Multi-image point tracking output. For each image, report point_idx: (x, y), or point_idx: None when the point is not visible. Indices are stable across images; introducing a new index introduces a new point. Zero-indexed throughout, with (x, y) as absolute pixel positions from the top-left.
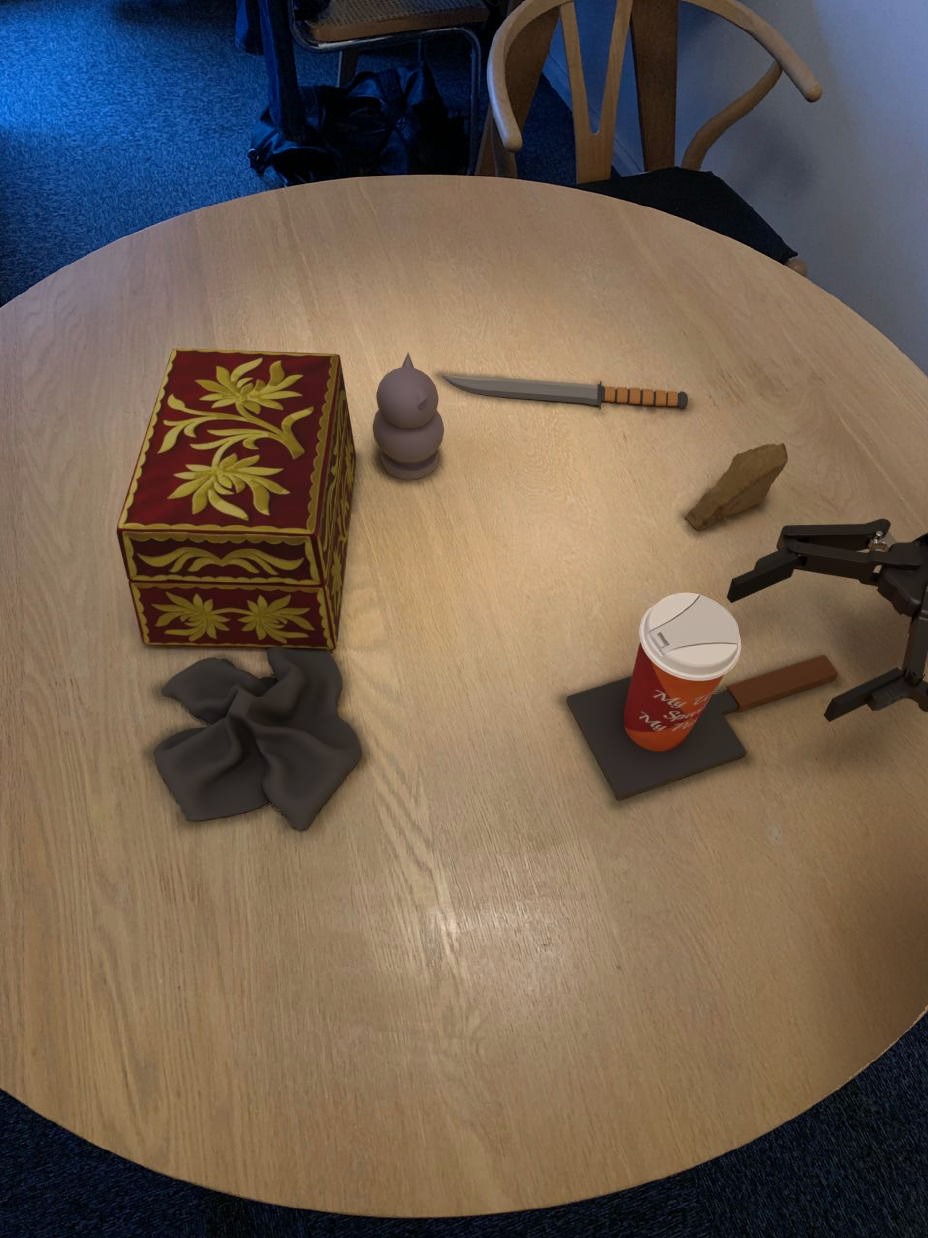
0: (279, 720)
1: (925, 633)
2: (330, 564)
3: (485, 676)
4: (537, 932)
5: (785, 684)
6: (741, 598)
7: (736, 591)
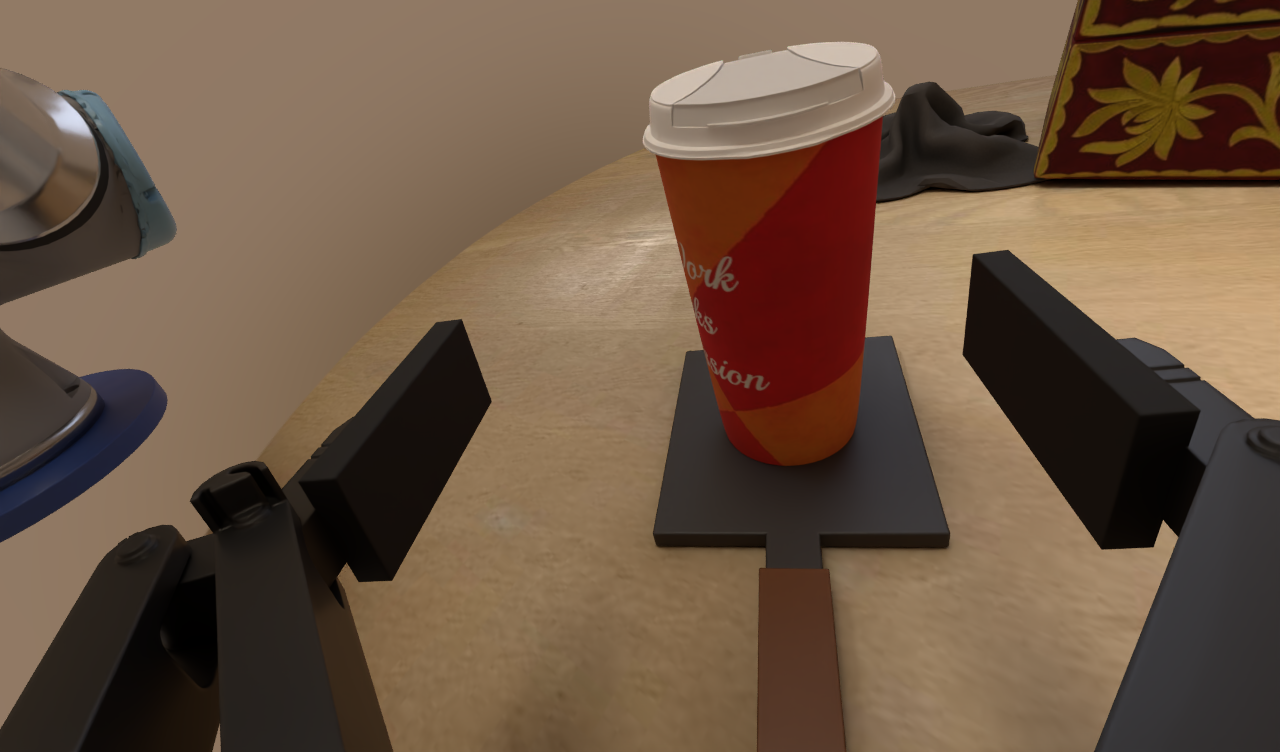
0: (916, 147)
1: (263, 731)
2: (1133, 50)
3: (966, 282)
4: (598, 283)
5: (781, 728)
6: (978, 373)
7: (970, 296)
